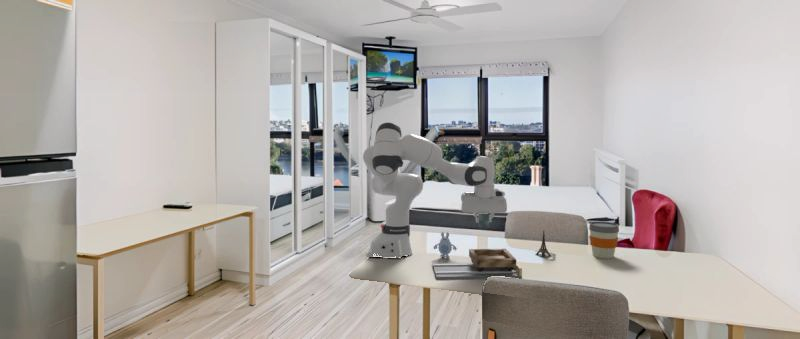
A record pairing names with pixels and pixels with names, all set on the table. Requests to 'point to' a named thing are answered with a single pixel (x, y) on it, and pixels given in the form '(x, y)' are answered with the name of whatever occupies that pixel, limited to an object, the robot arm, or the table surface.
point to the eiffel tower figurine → (545, 251)
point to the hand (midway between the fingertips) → (483, 222)
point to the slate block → (483, 220)
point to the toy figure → (445, 245)
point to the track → (472, 271)
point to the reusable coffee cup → (603, 238)
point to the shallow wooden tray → (492, 258)
